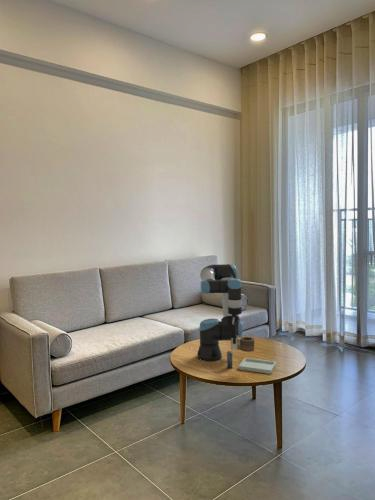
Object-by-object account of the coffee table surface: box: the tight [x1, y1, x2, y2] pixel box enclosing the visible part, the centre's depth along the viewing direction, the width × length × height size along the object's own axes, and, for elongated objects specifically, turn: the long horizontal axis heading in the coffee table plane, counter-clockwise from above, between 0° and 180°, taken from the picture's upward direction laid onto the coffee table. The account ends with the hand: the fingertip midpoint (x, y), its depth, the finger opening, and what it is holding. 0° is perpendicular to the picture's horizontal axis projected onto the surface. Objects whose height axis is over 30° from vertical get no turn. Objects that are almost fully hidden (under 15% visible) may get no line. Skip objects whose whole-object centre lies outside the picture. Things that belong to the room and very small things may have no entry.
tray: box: [237, 357, 277, 375], centre depth 218 cm, size 18×14×2 cm
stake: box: [226, 350, 234, 369], centre depth 218 cm, size 3×3×9 cm
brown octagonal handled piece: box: [230, 336, 255, 353], centre depth 213 cm, size 12×8×6 cm, turn 75°
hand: (235, 347), depth 214 cm, fingers closed on brown octagonal handled piece, 3 cm apart
